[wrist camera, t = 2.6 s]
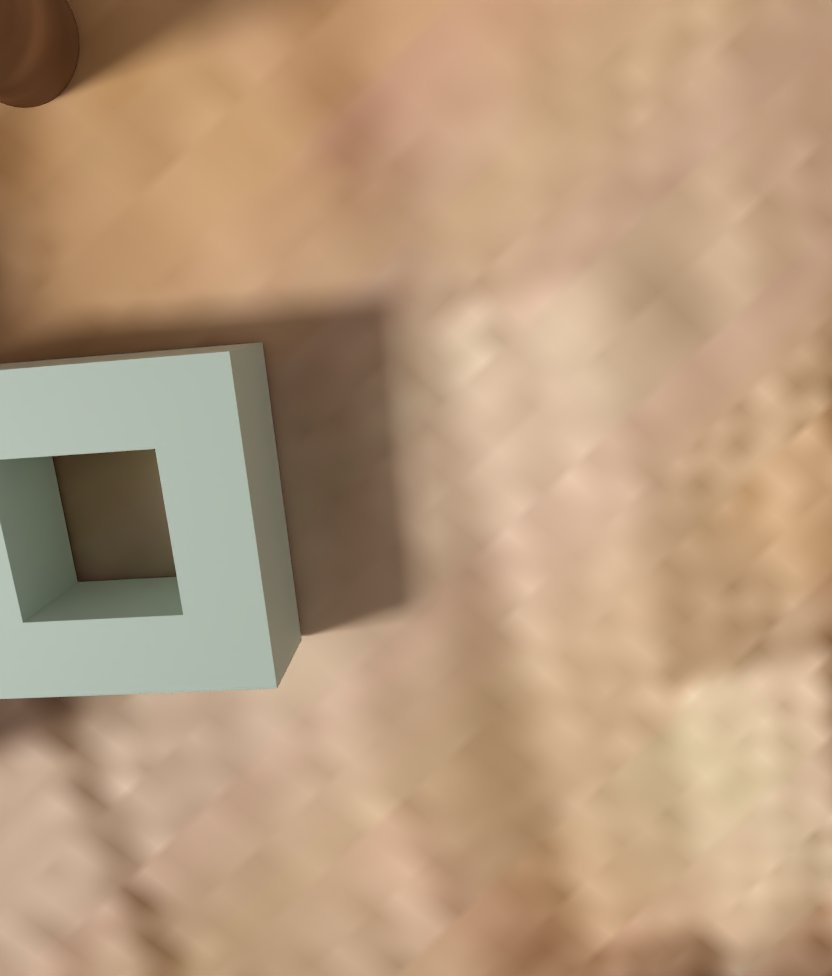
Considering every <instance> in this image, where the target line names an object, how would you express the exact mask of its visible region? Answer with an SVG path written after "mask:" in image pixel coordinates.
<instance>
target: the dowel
mask: <svg viewBox="0 0 832 976" xmlns="http://www.w3.org/2000/svg"><path fill="white" fill-rule="evenodd" d="M78 54H79V36H78V29H77V25H76V21H75V18H74V16H73V13H72V11H71V9H70V7H69V4H68V3H67V1H66V0H0V102H1V103H4V104H6V105H10V106H14V107H21V108H28V107H35V106H39V105H42V104H45V103H47V102H49V101H51V100H52V99H54V98H55V97H56V96H58V95H59V94H60V93H61V92H62V91H63V90H64V89H65V87H66V86H67V84H68V83H69V81H70V80H71V78H72V76H73V73H74V71H75V68H76V65H77V60H78Z"/></svg>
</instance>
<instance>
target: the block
mask: <svg viewBox="0 0 832 976" xmlns="http://www.w3.org/2000/svg"><path fill="white" fill-rule="evenodd" d="M146 449H155V452H156V458H157V464H158V469H159V475H160V481H161V487H162V493H163V499H164V505H165V511H166V517H167V522H168V528H169V534H170V540H171V546H172V552H173V558H174V564H175V569H176V575H177V577H162V578H143V579H124V580H105V581H87V582H77V577H76V572H75V567H74V562H73V557H72V552H71V547H70V542H69V537H68V532H67V527H66V523H65V518H64V513H63V508H62V503H61V498H60V493H59V488H58V483H57V478H56V473H55V468H54V464H53V459H52V456H60V455H74V454H89V453H103V452H117V451H132V450H146ZM300 642H301V632H300V625H299V617H298V609H297V602H296V594H295V586H294V579H293V571H292V564H291V556H290V548H289V541H288V533H287V525H286V518H285V510H284V503H283V495H282V487H281V480H280V472H279V464H278V457H277V449H276V442H275V434H274V426H273V419H272V411H271V403H270V396H269V388H268V381H267V373H266V365H265V358H264V350H263V342H258V343H246V344H234V345H222V346H210V347H198V348H186V349H173V350H161V351H149V352H137V353H125V354H113V355H101V356H89V357H76V358H64V359H52V360H40V361H28V362H16V363H4V364H0V699H16V698H42V697H69V696H95V695H121V694H147V693H173V692H199V691H226V690H252V689H277V688H278V686H279V684H280V682H281V680H282V678H283V676H284V674H285V672H286V670H287V668H288V666H289V664H290V662H291V660H292V658H293V656H294V654H295V652H296V650H297V648H298V646H299V644H300Z"/></svg>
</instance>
